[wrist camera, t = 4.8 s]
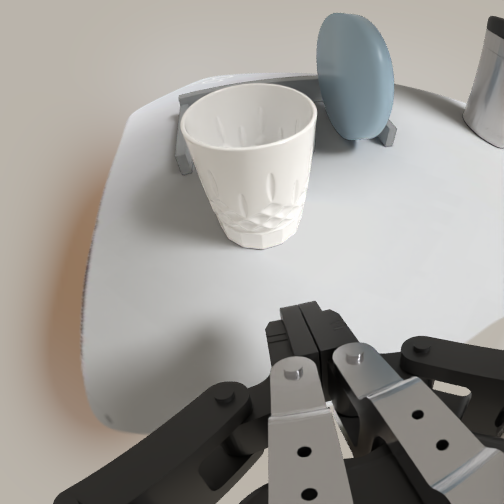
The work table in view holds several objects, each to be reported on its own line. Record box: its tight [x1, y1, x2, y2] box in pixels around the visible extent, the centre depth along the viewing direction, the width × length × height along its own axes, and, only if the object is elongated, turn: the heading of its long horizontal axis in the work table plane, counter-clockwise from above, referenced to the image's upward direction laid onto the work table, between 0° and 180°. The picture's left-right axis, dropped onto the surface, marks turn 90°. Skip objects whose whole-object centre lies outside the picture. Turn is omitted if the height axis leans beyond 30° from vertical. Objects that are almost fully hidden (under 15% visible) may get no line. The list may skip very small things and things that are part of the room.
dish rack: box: [175, 13, 397, 175], centre depth 23 cm, size 15×23×14 cm, turn 98°
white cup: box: [180, 83, 317, 249], centre depth 19 cm, size 8×8×10 cm
